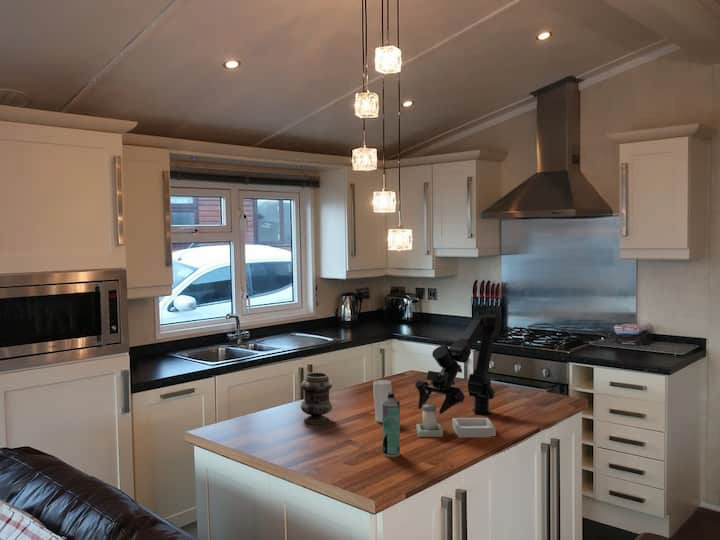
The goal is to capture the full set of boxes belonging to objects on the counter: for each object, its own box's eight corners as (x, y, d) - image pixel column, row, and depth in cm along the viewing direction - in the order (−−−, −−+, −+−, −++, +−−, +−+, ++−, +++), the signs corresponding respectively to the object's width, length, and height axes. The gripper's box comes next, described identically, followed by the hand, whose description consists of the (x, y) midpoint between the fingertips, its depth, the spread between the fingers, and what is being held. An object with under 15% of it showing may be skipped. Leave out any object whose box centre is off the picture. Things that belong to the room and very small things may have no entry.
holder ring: (416, 429, 227) (416, 423, 227) (439, 429, 227) (439, 423, 227) (418, 436, 218) (418, 431, 218) (443, 436, 218) (443, 431, 218)
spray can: (398, 451, 204) (398, 390, 203) (400, 457, 199) (400, 395, 198) (382, 451, 204) (382, 391, 203) (383, 457, 199) (383, 395, 198)
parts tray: (452, 426, 230) (452, 418, 230) (487, 425, 231) (487, 417, 230) (458, 437, 217) (458, 429, 217) (495, 437, 218) (495, 428, 217)
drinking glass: (370, 419, 239) (370, 380, 238) (387, 417, 242) (386, 379, 241) (377, 424, 233) (377, 384, 232) (394, 422, 235) (394, 383, 235)
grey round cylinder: (421, 430, 225) (421, 403, 225) (435, 430, 225) (435, 403, 225) (423, 435, 220) (423, 407, 220) (437, 435, 220) (437, 407, 220)
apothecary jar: (328, 426, 231) (327, 378, 230) (296, 424, 233) (296, 377, 232) (335, 417, 243) (335, 371, 242) (306, 415, 245) (305, 370, 244)
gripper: (417, 358, 232) (399, 393, 224) (460, 365, 219) (441, 402, 211) (430, 376, 238) (412, 410, 230) (472, 384, 225) (454, 420, 218)
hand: (429, 410), depth 222 cm, fingers open, 9 cm apart
